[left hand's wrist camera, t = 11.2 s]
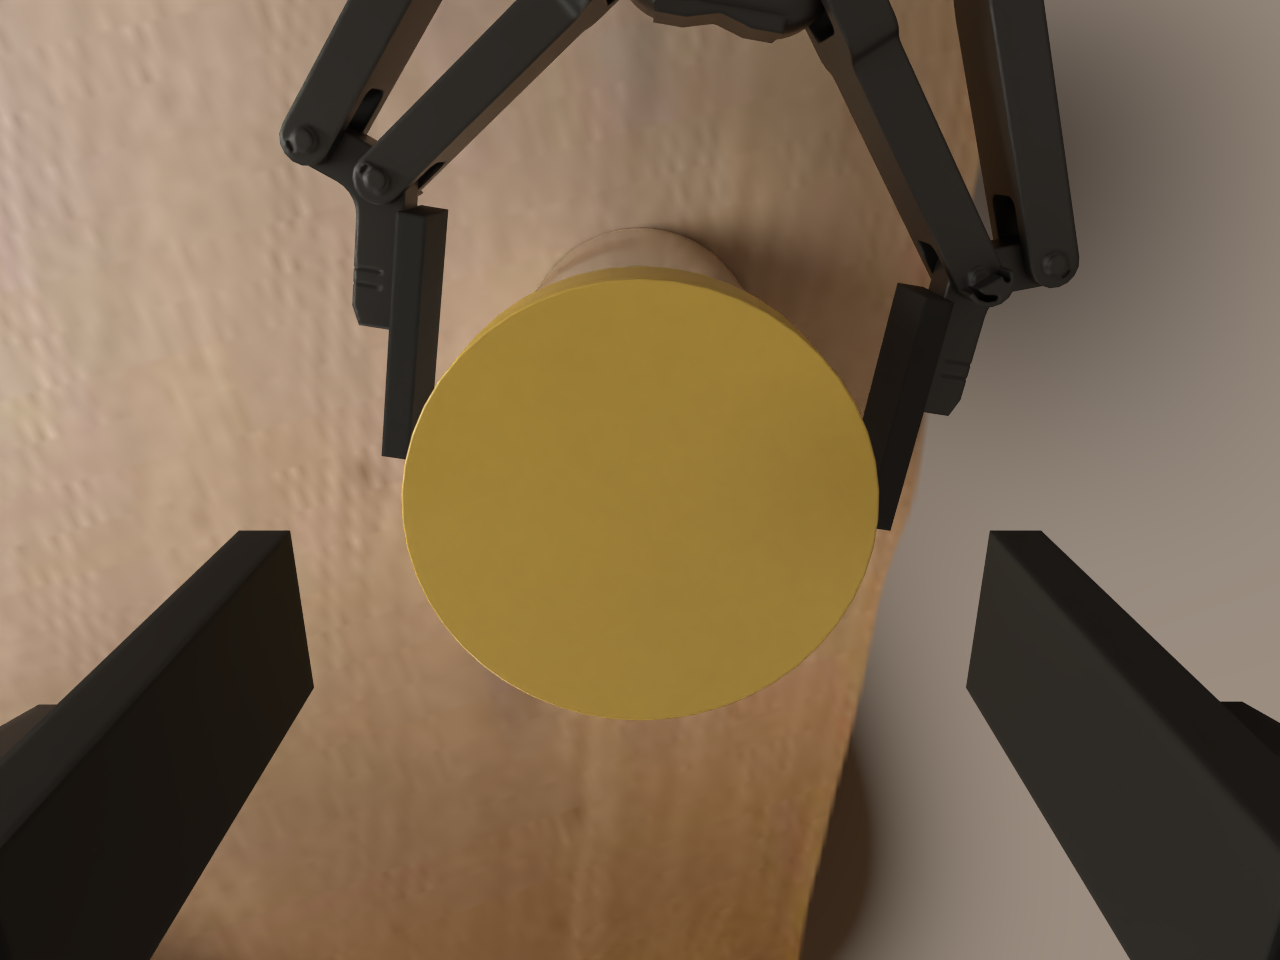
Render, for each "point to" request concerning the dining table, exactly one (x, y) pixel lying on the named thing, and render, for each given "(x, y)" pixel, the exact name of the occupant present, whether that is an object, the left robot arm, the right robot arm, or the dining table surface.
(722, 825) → the dining table surface
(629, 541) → the lid
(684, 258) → the jar
